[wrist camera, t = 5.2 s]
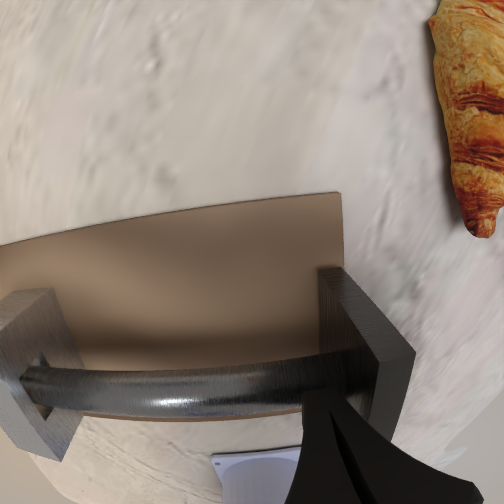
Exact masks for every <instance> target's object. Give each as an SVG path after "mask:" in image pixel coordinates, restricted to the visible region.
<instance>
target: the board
mask: <svg viewBox="0 0 504 504" xmlns="http://www.w3.org/2000/svg"><path fill="white" fill-rule="evenodd" d="M340 266H341V267H342V268H343V270H344V242H343V218H342V200H341V193H339V192H329V193H318V194H308V195H298V196H288V197H279V198H270V199H261V200H253V201H244V202H236V203H229V204H221V205H214V206H207V207H200V208H193V209H186V210H180V211H173V212H167V213H160V214H154V215H148V216H142V217H137V218H131V219H125V220H120V221H114V222H109V223H104V224H98V225H93V226H88V227H83V228H78V229H73V230H68V231H64V232H59V233H54V234H50V235H45V236H41V237H36V238H32V239H28V240H23V241H19V242H15V243H11V244H7V245H3V246H0V300H1V299H2V298H4V297H5V296H7V295H8V294H9V293H11V292H12V291H15V290H25V289H36V288H46V287H54V290H55V293H56V296H57V299H58V302H59V305H60V308H61V311H62V313H63V316H64V319H65V321H66V324H67V327H68V329H69V332H70V334H71V336H72V339H73V341H74V344H75V346H76V348H77V351H78V353H79V355H80V357H81V360H82V362H83V364H84V366H85V368H86V370H116V371H150V370H181V369H199V368H213V367H225V366H236V365H246V364H255V363H263V362H271V361H278V360H286V359H292V358H299V357H305V356H311V355H317V354H319V303H318V274H317V270H319V269H326V268H333V267H340ZM297 412H302V407H301V408H295V409H288V410H281V411H274V412H266V413H257V414H247V415H235V416H221V417H198V418H153V417H131V416H117V415H106V414H97V413H88V412H85V414H84V416H91V417H99V418H109V419H119V420H133V421H153V422H203V421H224V420H238V419H250V418H259V417H268V416H276V415H283V414H290V413H297Z"/></svg>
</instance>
